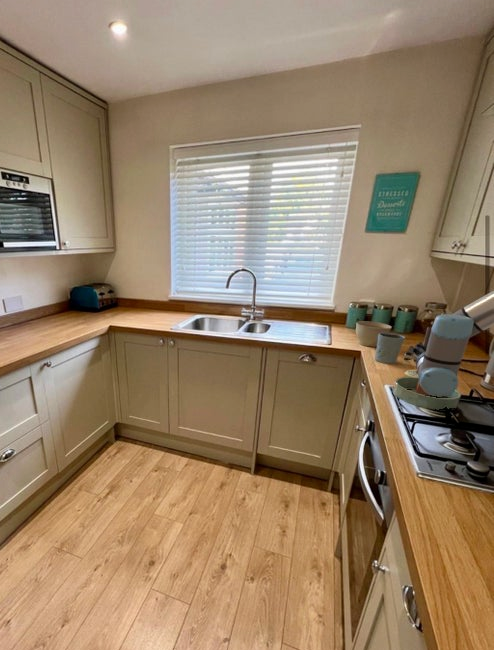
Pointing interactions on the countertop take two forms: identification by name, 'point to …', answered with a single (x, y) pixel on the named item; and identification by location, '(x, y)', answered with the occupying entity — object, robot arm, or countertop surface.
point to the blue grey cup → (388, 347)
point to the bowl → (422, 400)
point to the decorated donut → (411, 373)
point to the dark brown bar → (426, 340)
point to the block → (420, 390)
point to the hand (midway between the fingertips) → (426, 346)
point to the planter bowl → (370, 332)
